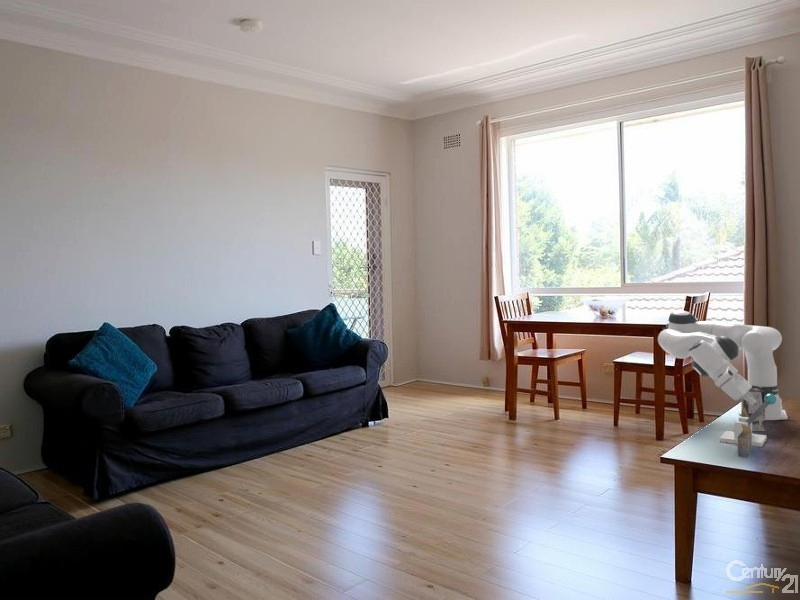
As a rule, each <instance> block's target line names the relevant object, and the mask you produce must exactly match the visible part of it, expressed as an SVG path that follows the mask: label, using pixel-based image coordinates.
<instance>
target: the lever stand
mask: <svg viewBox="0 0 800 600" xmlns="http://www.w3.org/2000/svg"><path fill="white" fill-rule="evenodd" d="M747 419H748V418H747V417H742V416H738V421H737V420H735V421H733V431H730V430H726V431H725V432H723V434H721V436H719V442H720V441H721V443H726V442H728V443H729V444H734V445H736V444H737V445H738V436H739V434H740V433H741V432H742V430H743V428H742V426H741V425H743V424H744V425H746V426H748V423H747V422H745V421H746V420H747ZM749 427H750V428H751V429H750V430H752V423H751V424H750V425H749ZM766 439H767V440H768V438H767V435H766V434H765V435H764V434H757V433H756V434H755V433H752V447H758V448H759V447H760V448H762V447H763V445H764V444H765V443H764V442H766V441H767V440H766Z"/></svg>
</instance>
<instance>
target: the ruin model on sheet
mask: <svg viewBox="0 0 800 600" xmlns="http://www.w3.org/2000/svg"><path fill="white" fill-rule="evenodd" d="M741 426H742V428H743V430H742V432H741V433H740V434H739V436H738V444H737V457H739V458H747V457H748V456H749V454H750V452H751V451H752V450H753V448H752V447H753V446H752V434H753V431H752V430H750V429H751V428H750V427H748V426H746V425H744V424H743V425H741Z"/></svg>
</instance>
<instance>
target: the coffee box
mask: <svg viewBox="0 0 800 600" xmlns="http://www.w3.org/2000/svg"><path fill="white" fill-rule="evenodd" d="M749 392H750V393H751V395H752V396H753V398H754V399H755V400H756V402H755V403H754V404H753V405H751V404H750V403H749V402H747V401H746V400H744V399H743V398H742V397H741V398H740V399H741V400H740V401H741V404H740V405H741V406H740V407H741V410H740V411H742V415H741V417H747V418H749V417H750V416H751V415H752V414H753V413H754V412H755V411H756V410H757V409H758V408H759V407H760V406H761V405H762V404H763V402H764V401H765V400H764V397H765V392H764V391H762V390H760V389H758V388H751V389H750V390H749ZM765 431H766V420H765V409H764V410H763V411H762V412H761V414H760V415H759V416H758V417H757V418H756V419H755V420H754V421H753V422H752V432H765Z"/></svg>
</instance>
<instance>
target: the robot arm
mask: <svg viewBox="0 0 800 600" xmlns="http://www.w3.org/2000/svg"><path fill="white" fill-rule="evenodd" d="M667 321H668V327H667V328H666V329H663V330H661V331H660V333H658V336H657V343H658V345H659V346H660V347H661V348H662V350H663V351H665V352H666V353H667V354H669V355H670V356H672V357H673V358H676V359H681V360H682V359H687V358H690V357H691V359H692V360H691V367H692V369H693V370H695V371H696V372H697V374H699V376H701V377H703V378H709V377H710V378H711V379H712V380H713V381H714V385H715V386H716V387H717V388H720V389H721V390H722V391H723V392H724V393H725V394H727V396H729V397H730V398H731V399H732V400H734V401H735V402H736V401H739V400H740V399H741V397H742V398H743V399H744V400H746V401H747V402H749V403H750V404H751V405H753V404H754V403H755V402H756V400H755V399H754V398H753V396H752V395H751V393H750V392H749V390H750V389H751V388H758V389H760V390H762V391H764V392H765V396H766V395H767V394H773V395H775V396H776V399H777V401H776V403H775V404H772V405H770V404H769V405H768V406H767V407H766V408H765V421H778V420H779V421H780V420H788V417H789V416H788V415H787V412H786V410H785V409H784V406H782V405H783V402H782V401H783V400H782V399H781V397H780V396H779V385H778V367H777V365H776V362H775V358H774V355H773V354H774V351H776V350H777V349H778V348H779V347H780V345H781V344H782V342H783V340H782V339H783V335H782V334H781V332H780V331H779V330H778V329H776V328H774V327H771V326H762V325H749V324H736V323H729V322H720V321H712V320H701V321H699V320H698V318H697V317H695V315H693V314H692V313H691V312H690V311H686V310H675V311H672V312H671V313H670V314H669V316H668V320H667ZM739 350H744V354H745V359H746V366H747V379H745V378H744V377H743V376H742V374H739V370H738V369H737V368H736V367H735V366H734V365H733V364H732V363H730V362H731V361H732V360H734V359H736V358H737V357H738V356H739ZM738 415H739V416H742V410H740V411H739V412H738Z"/></svg>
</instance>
